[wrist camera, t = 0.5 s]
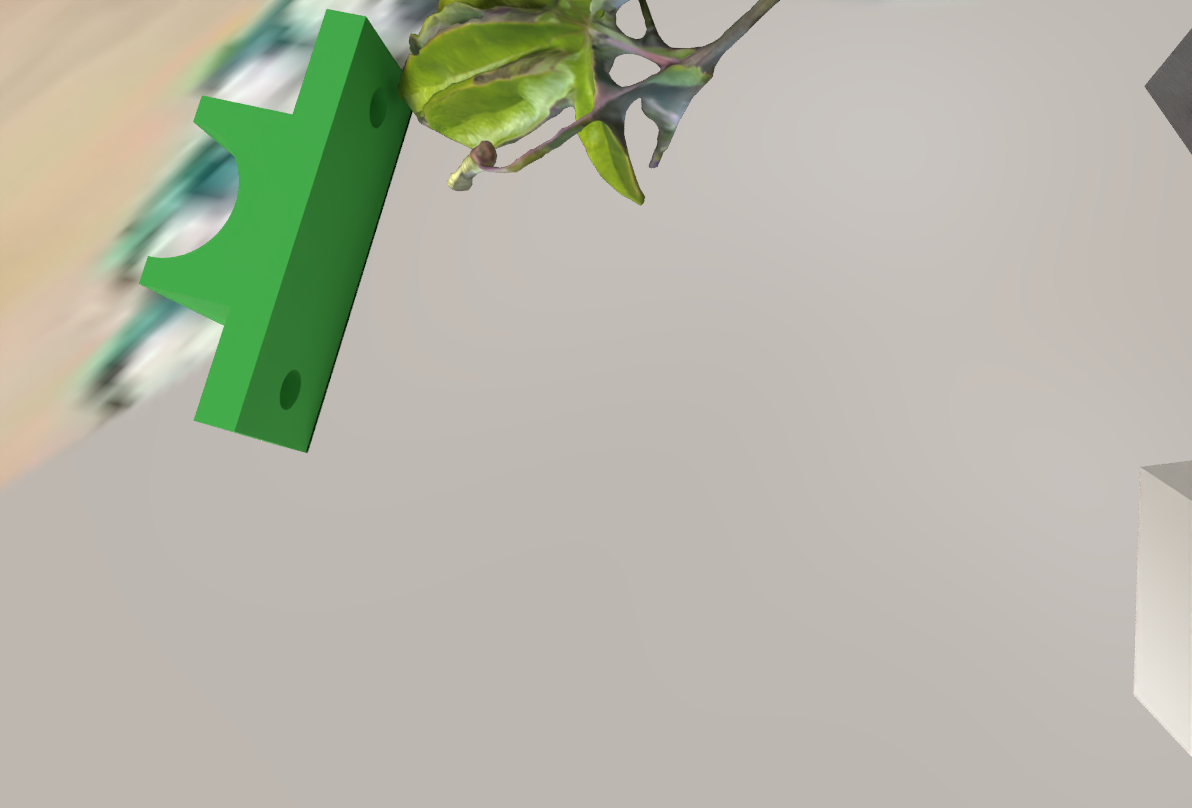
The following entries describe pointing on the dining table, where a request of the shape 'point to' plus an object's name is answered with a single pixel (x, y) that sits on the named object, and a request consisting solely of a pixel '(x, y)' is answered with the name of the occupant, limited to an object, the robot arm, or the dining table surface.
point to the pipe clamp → (292, 234)
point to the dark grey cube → (1176, 89)
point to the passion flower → (549, 80)
